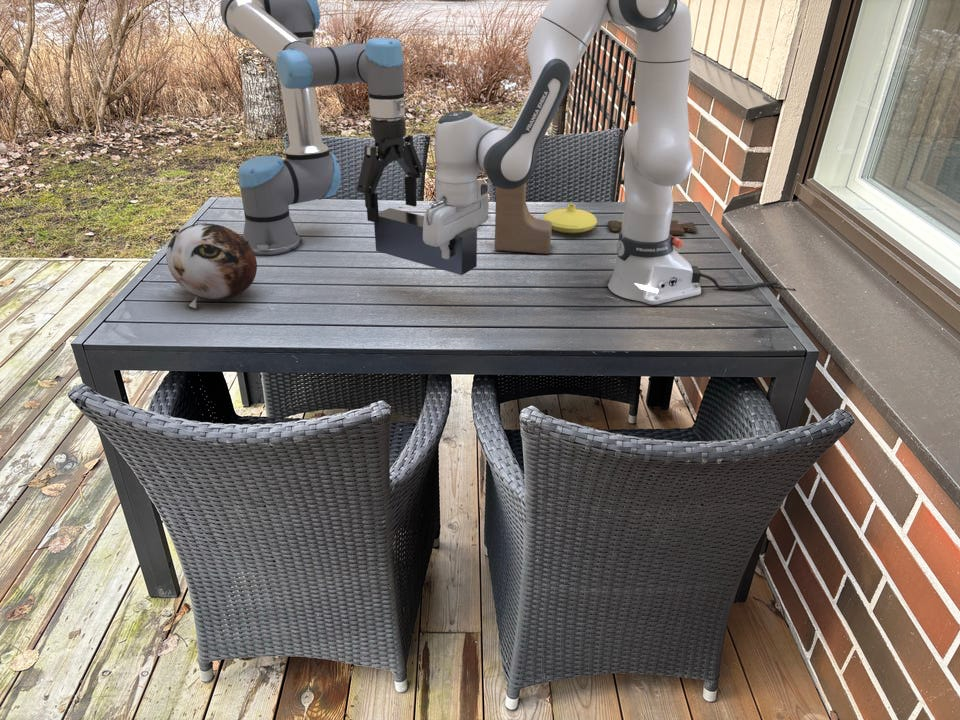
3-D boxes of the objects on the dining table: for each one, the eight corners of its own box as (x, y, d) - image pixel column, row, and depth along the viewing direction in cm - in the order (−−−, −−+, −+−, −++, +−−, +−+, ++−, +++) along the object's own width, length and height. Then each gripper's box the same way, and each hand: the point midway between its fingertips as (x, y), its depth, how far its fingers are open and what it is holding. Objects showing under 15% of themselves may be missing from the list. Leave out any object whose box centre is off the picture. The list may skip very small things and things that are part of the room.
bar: (375, 251, 168) (373, 214, 164) (391, 243, 172) (389, 207, 168) (462, 275, 157) (461, 237, 152) (476, 266, 161) (477, 229, 156)
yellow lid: (559, 216, 220) (561, 193, 217) (605, 227, 212) (608, 204, 209) (532, 230, 209) (533, 207, 206) (580, 242, 201) (582, 218, 198)
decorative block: (549, 254, 193) (556, 142, 178) (494, 251, 195) (497, 139, 180) (550, 244, 200) (558, 135, 184) (497, 241, 201) (500, 132, 186)
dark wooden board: (699, 237, 207) (691, 225, 216) (700, 231, 206) (692, 220, 215) (610, 234, 207) (606, 222, 216) (611, 228, 207) (607, 217, 215)
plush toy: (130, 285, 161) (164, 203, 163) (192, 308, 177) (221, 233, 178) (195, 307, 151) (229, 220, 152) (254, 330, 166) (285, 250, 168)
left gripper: (362, 130, 142) (369, 232, 153) (436, 109, 160) (438, 201, 171) (334, 125, 146) (343, 225, 157) (410, 105, 164) (413, 196, 175)
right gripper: (439, 207, 143) (440, 271, 150) (494, 182, 157) (492, 241, 164) (414, 201, 146) (416, 264, 153) (470, 177, 160) (470, 236, 167)
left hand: (392, 213), depth 164 cm, fingers open, 13 cm apart
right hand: (456, 252), depth 159 cm, fingers closed on bar, 6 cm apart
